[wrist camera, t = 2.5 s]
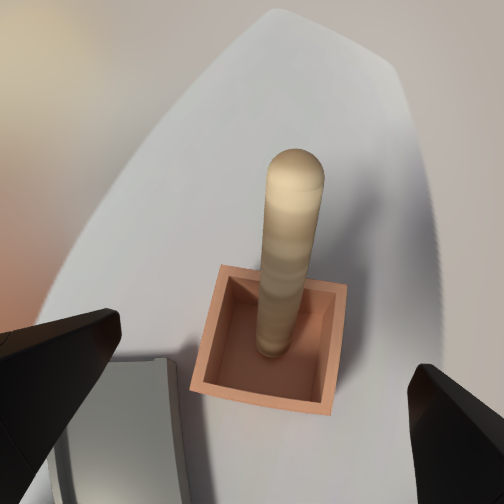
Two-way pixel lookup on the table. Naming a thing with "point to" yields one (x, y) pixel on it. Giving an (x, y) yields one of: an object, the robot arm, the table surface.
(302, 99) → the table surface
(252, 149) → the table surface
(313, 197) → the birch dowel
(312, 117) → the table surface
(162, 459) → the slate tray
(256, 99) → the table surface
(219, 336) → the terracotta box
